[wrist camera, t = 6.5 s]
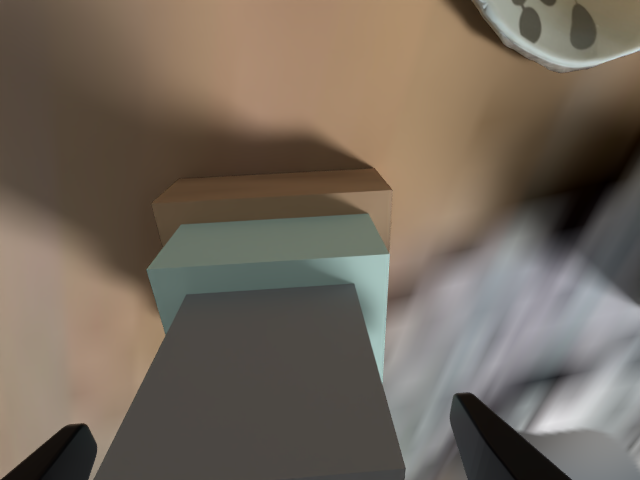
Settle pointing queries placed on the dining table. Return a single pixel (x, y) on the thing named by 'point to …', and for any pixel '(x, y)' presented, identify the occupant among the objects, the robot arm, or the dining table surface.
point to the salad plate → (565, 30)
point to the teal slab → (276, 263)
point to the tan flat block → (275, 199)
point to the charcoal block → (261, 394)
